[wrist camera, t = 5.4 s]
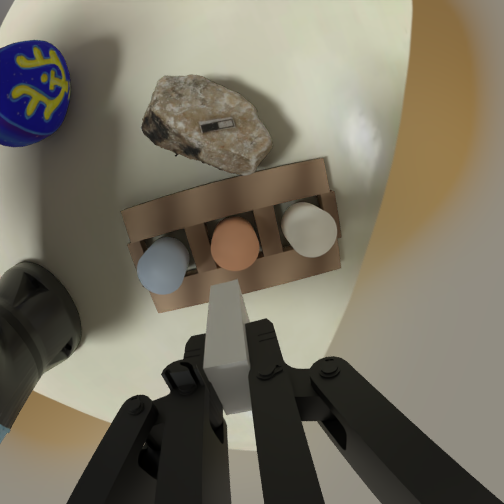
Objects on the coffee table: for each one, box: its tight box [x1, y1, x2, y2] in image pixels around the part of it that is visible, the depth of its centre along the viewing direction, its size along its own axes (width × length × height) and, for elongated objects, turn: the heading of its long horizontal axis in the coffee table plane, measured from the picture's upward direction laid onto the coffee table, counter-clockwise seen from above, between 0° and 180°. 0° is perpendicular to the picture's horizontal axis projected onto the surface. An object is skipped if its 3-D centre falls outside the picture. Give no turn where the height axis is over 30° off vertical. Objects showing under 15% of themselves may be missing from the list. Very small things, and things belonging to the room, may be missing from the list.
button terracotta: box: [211, 216, 259, 271], centre depth 27 cm, size 4×4×4 cm
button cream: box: [281, 202, 337, 258], centre depth 26 cm, size 4×4×4 cm
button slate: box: [137, 237, 189, 295], centre depth 26 cm, size 4×4×4 cm
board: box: [121, 158, 341, 313], centre depth 28 cm, size 22×12×2 cm, turn 104°
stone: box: [142, 75, 273, 176], centre depth 22 cm, size 7×12×7 cm, turn 70°
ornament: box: [0, 40, 71, 147], centre depth 15 cm, size 11×9×15 cm
